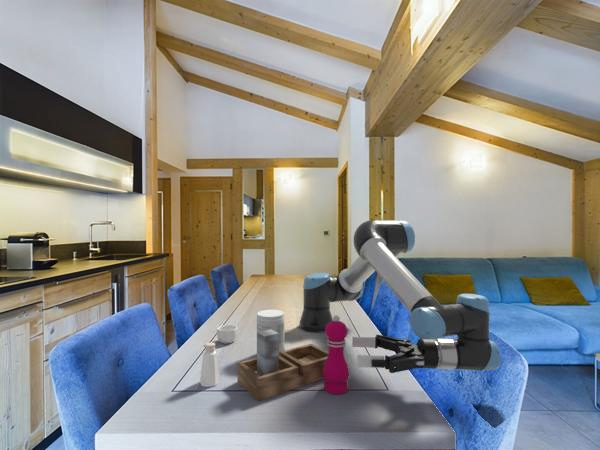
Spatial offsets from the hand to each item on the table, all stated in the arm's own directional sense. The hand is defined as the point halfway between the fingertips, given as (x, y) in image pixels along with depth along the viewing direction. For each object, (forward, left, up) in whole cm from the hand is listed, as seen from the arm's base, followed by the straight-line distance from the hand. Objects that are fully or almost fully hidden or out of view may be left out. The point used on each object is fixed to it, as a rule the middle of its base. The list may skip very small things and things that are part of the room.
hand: (354, 350), depth 88 cm
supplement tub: (+6, -34, -11) cm, 36 cm away
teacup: (+12, -56, -11) cm, 58 cm away
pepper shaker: (+30, -27, -11) cm, 42 cm away
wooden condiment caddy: (+9, -16, -11) cm, 21 cm away
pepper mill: (+3, -4, -11) cm, 12 cm away
